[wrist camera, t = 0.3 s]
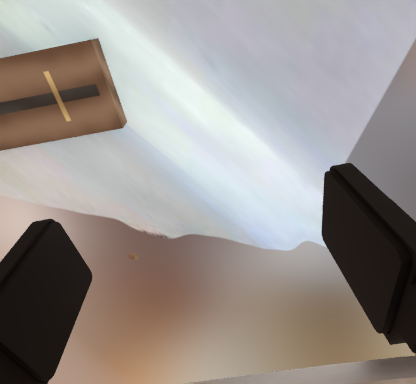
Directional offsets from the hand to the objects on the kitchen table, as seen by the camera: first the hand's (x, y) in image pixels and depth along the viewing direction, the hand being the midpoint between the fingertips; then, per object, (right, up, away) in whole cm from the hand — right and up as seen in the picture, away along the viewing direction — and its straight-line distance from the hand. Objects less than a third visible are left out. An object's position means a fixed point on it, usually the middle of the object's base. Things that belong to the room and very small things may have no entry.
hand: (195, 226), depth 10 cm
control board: (-26, +16, +32) cm, 44 cm away
